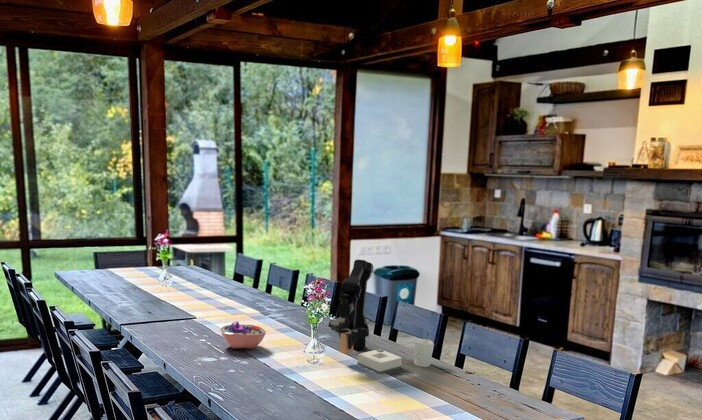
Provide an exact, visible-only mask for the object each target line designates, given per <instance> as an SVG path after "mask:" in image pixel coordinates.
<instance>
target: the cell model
mask: <svg viewBox="0 0 702 420" xmlns="http://www.w3.org/2000/svg"><path fill="white" fill-rule="evenodd" d="M219 331H220V332H221V335H222V339H223V341H224V342H225V343H226V344H227V345H228V346H229V347H230V348H232V349H235V350H236V349H247V350H249V349H254V348H257V346H258V345H260V344H261V343H262V341H263V340H264V338H265V336H266V333H267V331H266V330H265V329H264V328H263V327H261V326H258V325H254V324H240V323H239V321H234V322H232V323H231V324H226V325H224V326H221V328H220V330H219Z"/></svg>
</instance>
